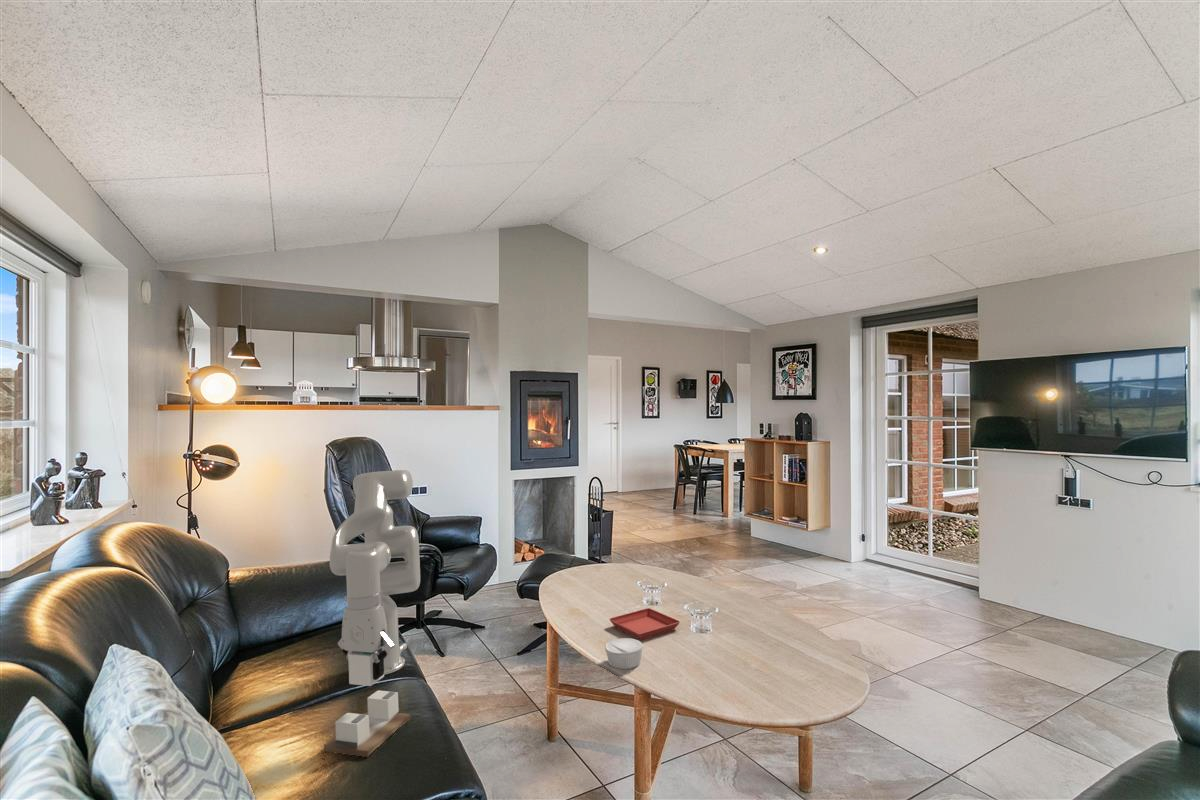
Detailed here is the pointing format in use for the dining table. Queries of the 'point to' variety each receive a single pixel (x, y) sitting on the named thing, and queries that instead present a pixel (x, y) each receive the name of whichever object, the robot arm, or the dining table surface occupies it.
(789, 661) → the dining table surface
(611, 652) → the ramekin
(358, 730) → the mounted modules
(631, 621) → the plant saucer
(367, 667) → the block
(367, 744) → the board
